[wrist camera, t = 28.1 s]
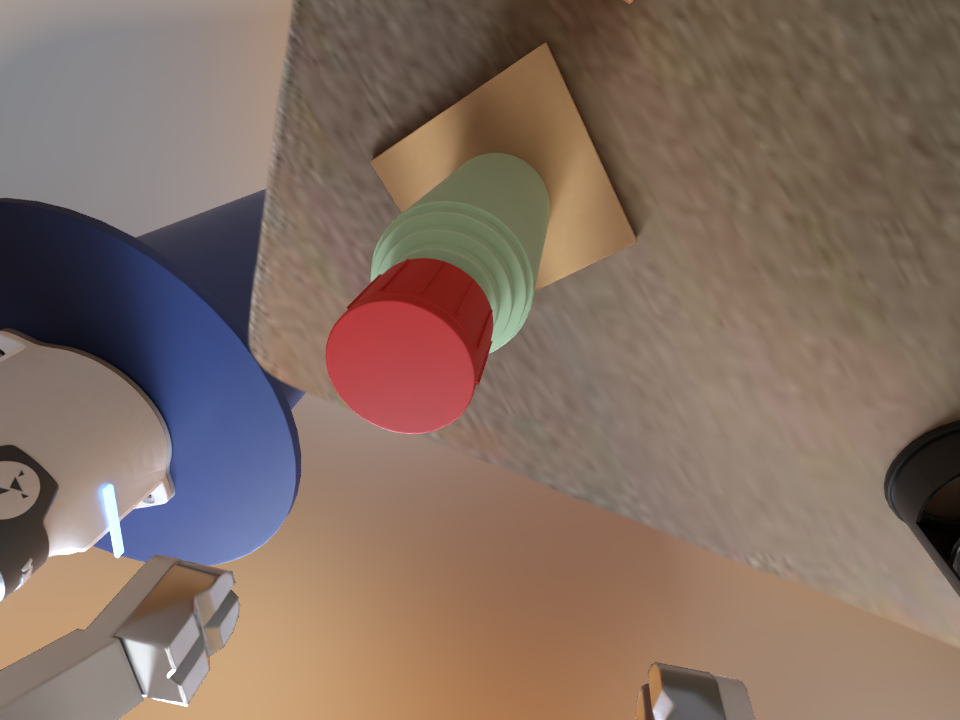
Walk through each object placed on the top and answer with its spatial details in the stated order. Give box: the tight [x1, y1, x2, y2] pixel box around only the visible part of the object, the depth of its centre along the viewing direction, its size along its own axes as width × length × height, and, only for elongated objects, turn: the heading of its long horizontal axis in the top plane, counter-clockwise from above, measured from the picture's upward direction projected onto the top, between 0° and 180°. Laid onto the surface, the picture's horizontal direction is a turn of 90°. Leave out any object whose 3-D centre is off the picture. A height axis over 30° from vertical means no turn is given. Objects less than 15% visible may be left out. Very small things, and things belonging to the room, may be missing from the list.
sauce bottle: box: [371, 153, 550, 354], centre depth 21 cm, size 6×6×18 cm
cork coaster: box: [370, 42, 637, 291], centre depth 29 cm, size 11×11×1 cm
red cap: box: [326, 258, 494, 434], centre depth 15 cm, size 4×4×3 cm
